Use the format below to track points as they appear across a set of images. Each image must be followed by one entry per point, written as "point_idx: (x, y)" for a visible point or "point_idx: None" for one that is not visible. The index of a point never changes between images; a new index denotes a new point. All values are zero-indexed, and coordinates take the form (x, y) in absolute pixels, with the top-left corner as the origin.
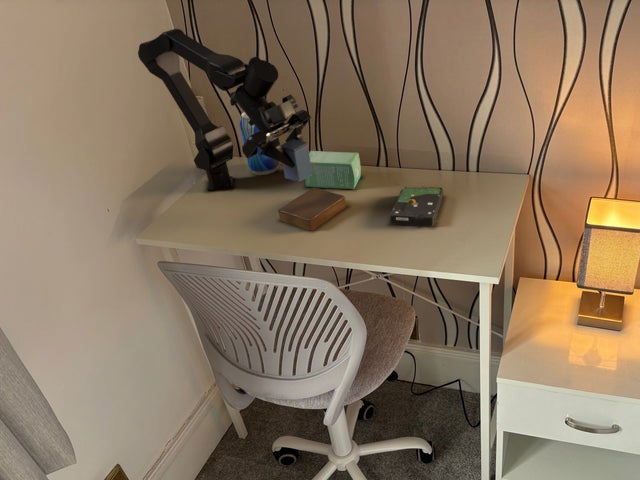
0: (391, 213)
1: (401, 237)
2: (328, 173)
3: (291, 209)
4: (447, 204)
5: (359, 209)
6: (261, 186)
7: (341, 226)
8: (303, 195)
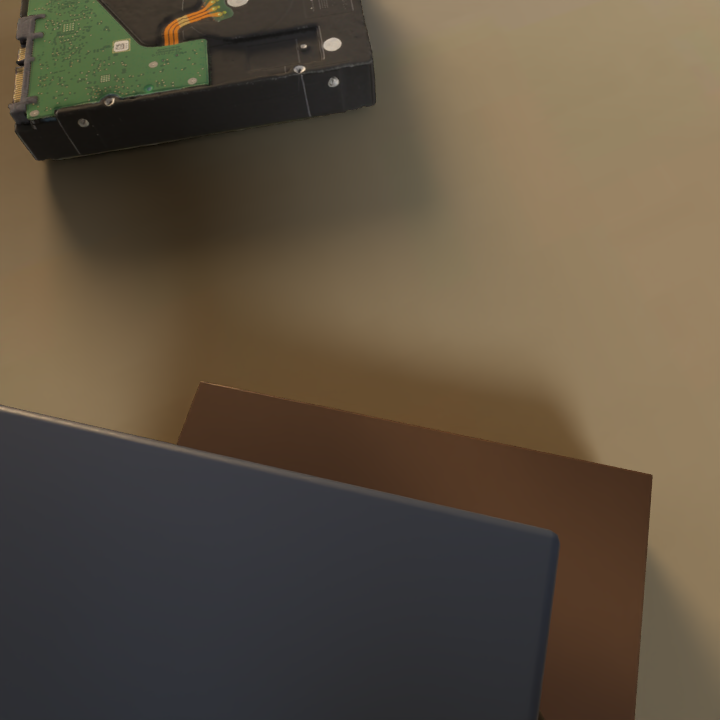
0: (351, 62)
1: (476, 36)
2: None
3: None
4: None
5: (241, 325)
6: None
7: (480, 340)
8: None
